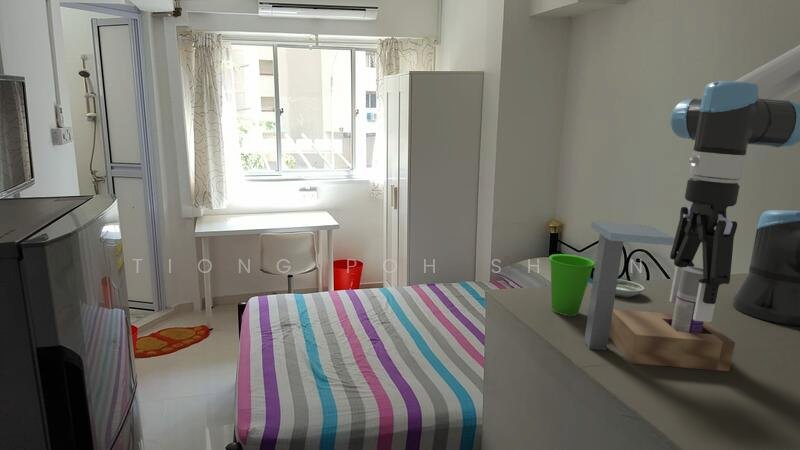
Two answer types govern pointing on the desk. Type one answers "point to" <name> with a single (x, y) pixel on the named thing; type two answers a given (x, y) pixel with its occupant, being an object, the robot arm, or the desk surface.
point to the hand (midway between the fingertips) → (689, 311)
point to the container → (687, 301)
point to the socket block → (668, 342)
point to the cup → (569, 281)
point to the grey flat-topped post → (612, 274)
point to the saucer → (628, 288)
